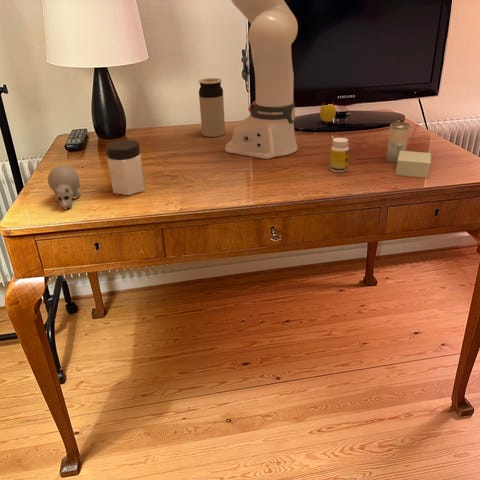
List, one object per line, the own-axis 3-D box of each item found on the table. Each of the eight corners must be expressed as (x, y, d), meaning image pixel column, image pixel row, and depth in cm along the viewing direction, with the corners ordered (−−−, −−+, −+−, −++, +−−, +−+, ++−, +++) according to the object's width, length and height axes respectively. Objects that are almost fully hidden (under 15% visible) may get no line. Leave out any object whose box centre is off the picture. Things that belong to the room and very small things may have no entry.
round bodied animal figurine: (53, 220, 111) (41, 196, 105) (54, 185, 119) (44, 161, 112) (83, 216, 112) (74, 192, 106) (83, 182, 120) (75, 157, 113)
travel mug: (228, 135, 157) (225, 80, 148) (206, 138, 155) (201, 83, 146) (220, 129, 164) (217, 76, 155) (199, 132, 161) (195, 79, 152)
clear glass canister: (385, 161, 130) (389, 126, 125) (386, 155, 134) (391, 121, 129) (404, 163, 128) (409, 127, 123) (405, 157, 133) (410, 122, 128)
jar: (105, 193, 118) (97, 148, 112) (123, 181, 124) (116, 138, 118) (135, 197, 115) (128, 151, 109) (152, 185, 121) (146, 141, 115)
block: (395, 174, 121) (397, 160, 119) (397, 164, 128) (399, 150, 126) (427, 177, 119) (430, 163, 117) (428, 167, 125) (431, 153, 123)
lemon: (317, 121, 168) (318, 99, 164) (332, 120, 168) (334, 98, 164) (321, 125, 163) (322, 103, 159) (337, 124, 163) (338, 102, 159)
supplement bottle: (347, 173, 124) (349, 142, 120) (329, 172, 125) (331, 142, 120) (347, 166, 128) (349, 137, 124) (330, 166, 129) (331, 136, 125)
